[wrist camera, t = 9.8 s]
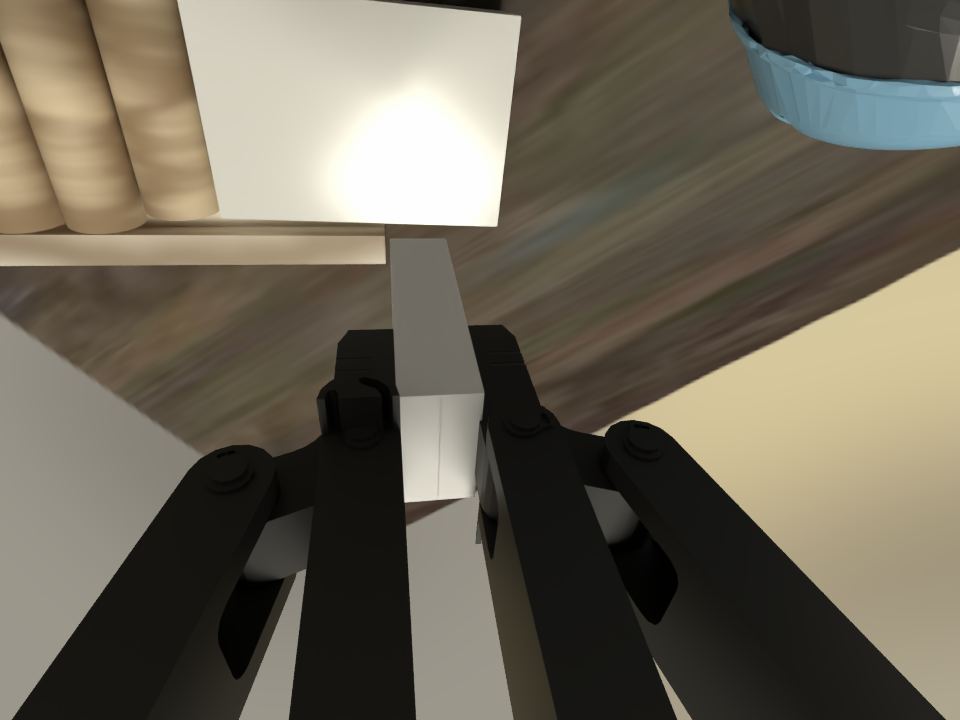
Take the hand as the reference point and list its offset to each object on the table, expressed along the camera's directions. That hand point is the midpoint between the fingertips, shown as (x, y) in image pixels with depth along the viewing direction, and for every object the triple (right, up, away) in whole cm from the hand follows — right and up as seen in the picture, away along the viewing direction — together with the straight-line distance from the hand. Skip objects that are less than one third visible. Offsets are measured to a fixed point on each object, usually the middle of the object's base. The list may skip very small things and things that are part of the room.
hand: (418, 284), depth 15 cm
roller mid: (-19, +10, +11) cm, 24 cm away
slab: (-5, +13, +16) cm, 22 cm away
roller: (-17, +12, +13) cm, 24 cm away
